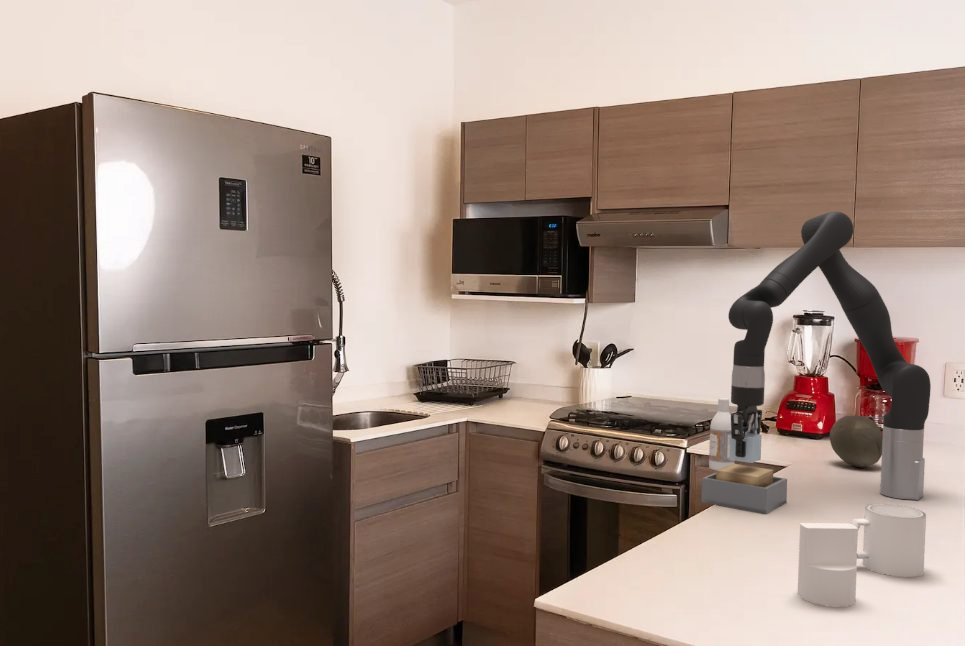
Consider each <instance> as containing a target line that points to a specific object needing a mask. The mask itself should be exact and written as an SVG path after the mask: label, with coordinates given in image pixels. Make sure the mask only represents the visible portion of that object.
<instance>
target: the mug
mask: <svg viewBox="0 0 965 646" xmlns="http://www.w3.org/2000/svg"><path fill="white" fill-rule="evenodd" d="M850 524H852V525H854V526H856V527H857V528H858V531H859V530H860V528H861V526H863V545H862V547H863V548H862V551H857V560H858V559H862V565H864V566H865V569H867V568H868V569H867V570H869V569H870V571H871V570H872V571H871V572H874V571H875V573H877V572H878V573H877V574H880V573H881V574H880V575H884V574H886V575H885V576H889V575H891V576H890V577H897V578H916V577H921V576H922V575H923V574H924V570H925V568H924V567H925V553H926V552H925V549H926V548H925V546H926V527H927V525H926V524H927V514H926V513H925V512H924V511H922V510H920V509H917V508H914V507H909V506H907V505H906V506H905V505H899V504H891V503H873V504H867V505H866V506H865V507H864V518H852V520H851V522H850ZM864 566H863V567H864Z"/></svg>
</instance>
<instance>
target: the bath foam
mask: <svg viewBox="0 0 965 646" xmlns="http://www.w3.org/2000/svg"><path fill="white" fill-rule="evenodd" d="M729 409H730V398H726V397H719V398H718V400H717V411H716V413H715V414H714V416H713V417H712V420H711V422H710V425H709V427H710V428H709V446H708V447H709V452H708V468H709V469H711V470H713V471H717V470H719V469H721V468H724V467H726V466H729V465H731V464H736V463H735V460H729V459H730V435H731V415H732V414H731V413H730V412H729V411H730V410H729ZM735 432H736V430H735Z"/></svg>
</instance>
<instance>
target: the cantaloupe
mask: <svg viewBox="0 0 965 646" xmlns="http://www.w3.org/2000/svg"><path fill="white" fill-rule="evenodd" d="M881 430H882V429H881V428H880V427H879V425H878V424H877V423H876V422H875V420H873V419H871V418H870V417H867V416H864V415H845V416H843V417H841V418H839V419H838V420H837V421H835V422H834V423H833V425H832V427H831V429H830V431H829V442H830V446H831V449H832V450H833V451H834V453H835V454H836V455H837V457H838V458H840V459H841V460H842V461H843V462H845V463H846V464H848V465H850V466H852V467H856V468H861V469H862V468H863V469H865V468H867V467H870V466H872V465H875V464H877V463H878V462H879V461H880V459H882V439H883V431H881Z"/></svg>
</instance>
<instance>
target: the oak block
mask: <svg viewBox="0 0 965 646" xmlns="http://www.w3.org/2000/svg"><path fill="white" fill-rule="evenodd" d="M716 472H717V473H716ZM716 472H715V473H716V480H722V481H728V482H734V483H740V484H746V485H752V486H758V487H764V488H765V487H767V486H769V485H771V484H773V477H774V469H771V468H770V469H769V468H762V467H756V466H751V465H750V466H749V465H744V464H736V463H735V464H731V465H729V466H726V467H724V468H721V469H719V470H716Z"/></svg>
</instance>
